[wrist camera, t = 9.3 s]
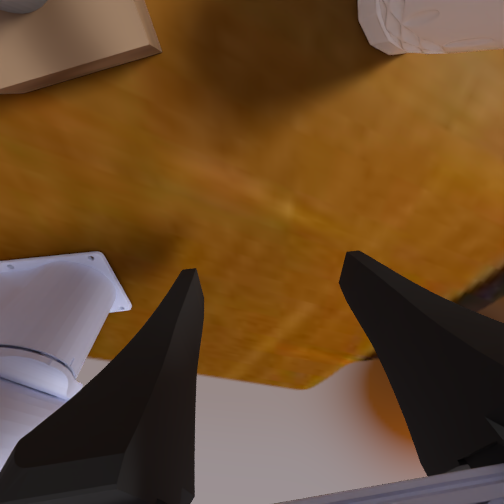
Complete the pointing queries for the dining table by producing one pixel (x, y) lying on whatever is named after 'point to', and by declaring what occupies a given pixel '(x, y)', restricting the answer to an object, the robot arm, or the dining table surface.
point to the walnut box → (71, 41)
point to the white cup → (432, 25)
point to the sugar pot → (21, 5)
